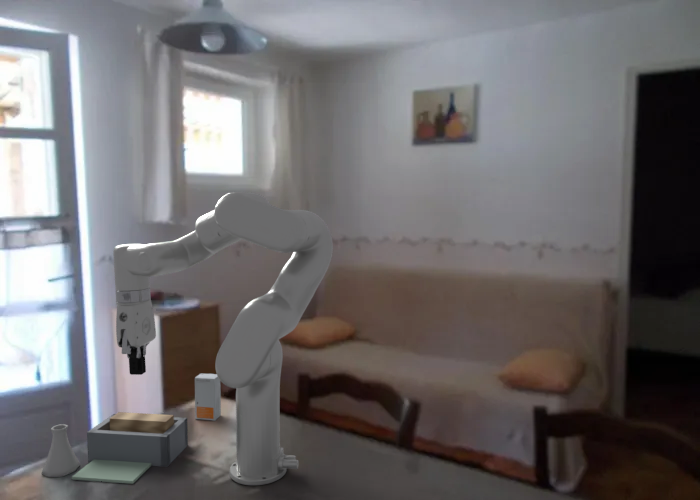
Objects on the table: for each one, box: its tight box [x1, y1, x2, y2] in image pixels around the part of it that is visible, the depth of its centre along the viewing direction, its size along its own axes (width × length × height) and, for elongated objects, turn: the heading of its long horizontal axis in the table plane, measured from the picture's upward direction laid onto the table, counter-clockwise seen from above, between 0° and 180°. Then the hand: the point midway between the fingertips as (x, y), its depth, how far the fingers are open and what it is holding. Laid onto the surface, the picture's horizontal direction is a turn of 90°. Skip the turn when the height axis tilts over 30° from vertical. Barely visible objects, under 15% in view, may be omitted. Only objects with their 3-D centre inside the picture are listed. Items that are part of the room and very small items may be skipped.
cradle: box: [86, 413, 189, 468], centre depth 127 cm, size 19×11×7 cm, turn 83°
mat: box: [71, 459, 152, 485], centre depth 118 cm, size 14×8×1 cm, turn 83°
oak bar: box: [110, 411, 175, 434], centre depth 126 cm, size 14×4×5 cm, turn 83°
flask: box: [41, 423, 81, 478], centre depth 118 cm, size 7×7×10 cm
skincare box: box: [194, 373, 222, 422], centre depth 148 cm, size 6×4×12 cm
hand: (137, 373), depth 125 cm, fingers closed
